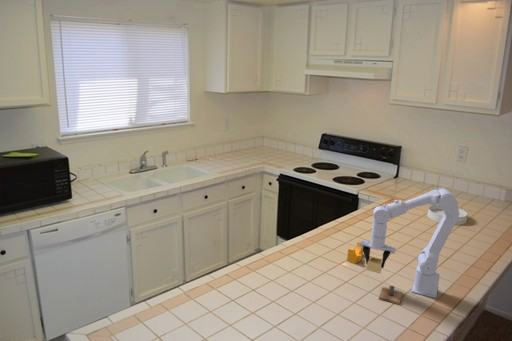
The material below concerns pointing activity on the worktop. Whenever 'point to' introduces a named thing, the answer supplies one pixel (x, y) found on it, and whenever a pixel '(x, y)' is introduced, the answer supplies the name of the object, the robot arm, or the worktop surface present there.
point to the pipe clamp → (355, 254)
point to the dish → (437, 214)
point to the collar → (374, 264)
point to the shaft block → (390, 295)
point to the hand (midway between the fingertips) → (375, 265)
